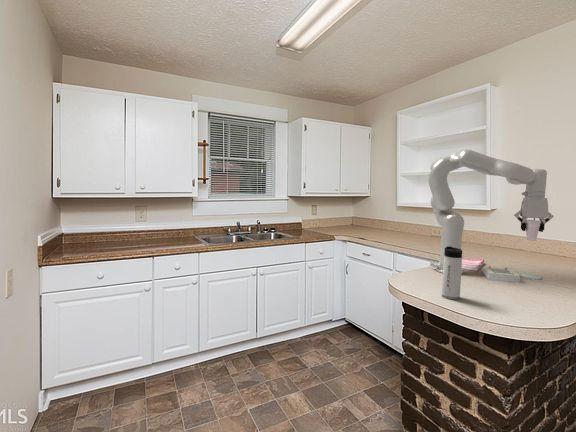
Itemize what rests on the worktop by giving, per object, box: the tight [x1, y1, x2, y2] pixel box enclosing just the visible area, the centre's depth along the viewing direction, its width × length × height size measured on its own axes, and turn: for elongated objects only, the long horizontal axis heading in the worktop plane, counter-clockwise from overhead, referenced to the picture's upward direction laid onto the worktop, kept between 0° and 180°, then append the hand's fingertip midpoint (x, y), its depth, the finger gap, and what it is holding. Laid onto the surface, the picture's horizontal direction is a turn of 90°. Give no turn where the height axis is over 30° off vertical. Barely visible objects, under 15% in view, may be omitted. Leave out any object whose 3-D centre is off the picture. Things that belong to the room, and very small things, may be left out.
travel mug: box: [441, 246, 463, 301], centre depth 118 cm, size 6×7×20 cm
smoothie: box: [525, 218, 541, 242], centre depth 147 cm, size 6×6×14 cm
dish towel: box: [461, 257, 485, 272], centre depth 172 cm, size 17×23×4 cm
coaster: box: [516, 272, 543, 280], centre depth 149 cm, size 10×10×1 cm
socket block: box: [482, 266, 521, 283], centre depth 147 cm, size 12×12×4 cm
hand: (532, 230), depth 147 cm, fingers closed on smoothie, 6 cm apart
